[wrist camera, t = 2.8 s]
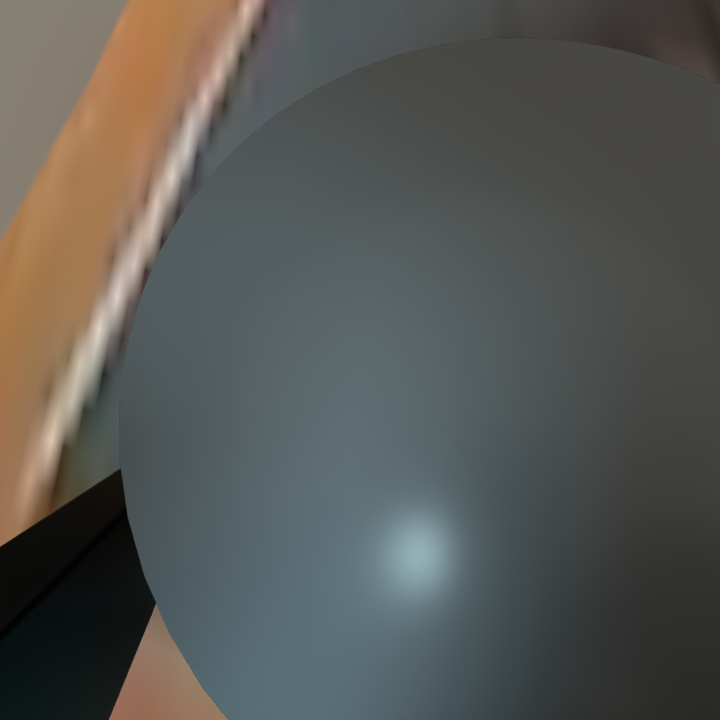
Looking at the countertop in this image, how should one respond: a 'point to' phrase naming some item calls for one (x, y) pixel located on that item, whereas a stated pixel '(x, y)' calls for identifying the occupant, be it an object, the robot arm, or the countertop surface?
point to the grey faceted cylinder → (443, 397)
